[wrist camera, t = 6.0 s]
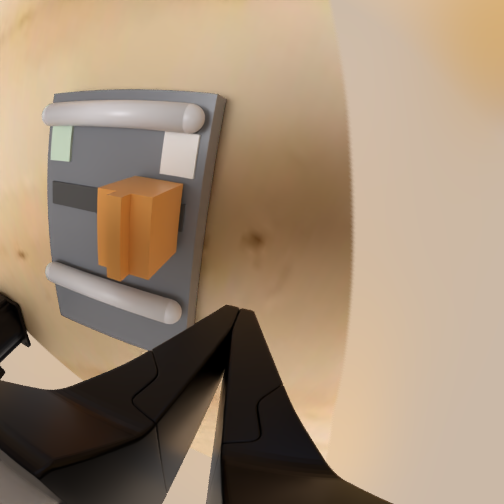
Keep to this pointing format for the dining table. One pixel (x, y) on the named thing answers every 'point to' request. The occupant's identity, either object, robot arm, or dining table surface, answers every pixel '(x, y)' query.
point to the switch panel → (118, 168)
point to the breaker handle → (137, 225)
